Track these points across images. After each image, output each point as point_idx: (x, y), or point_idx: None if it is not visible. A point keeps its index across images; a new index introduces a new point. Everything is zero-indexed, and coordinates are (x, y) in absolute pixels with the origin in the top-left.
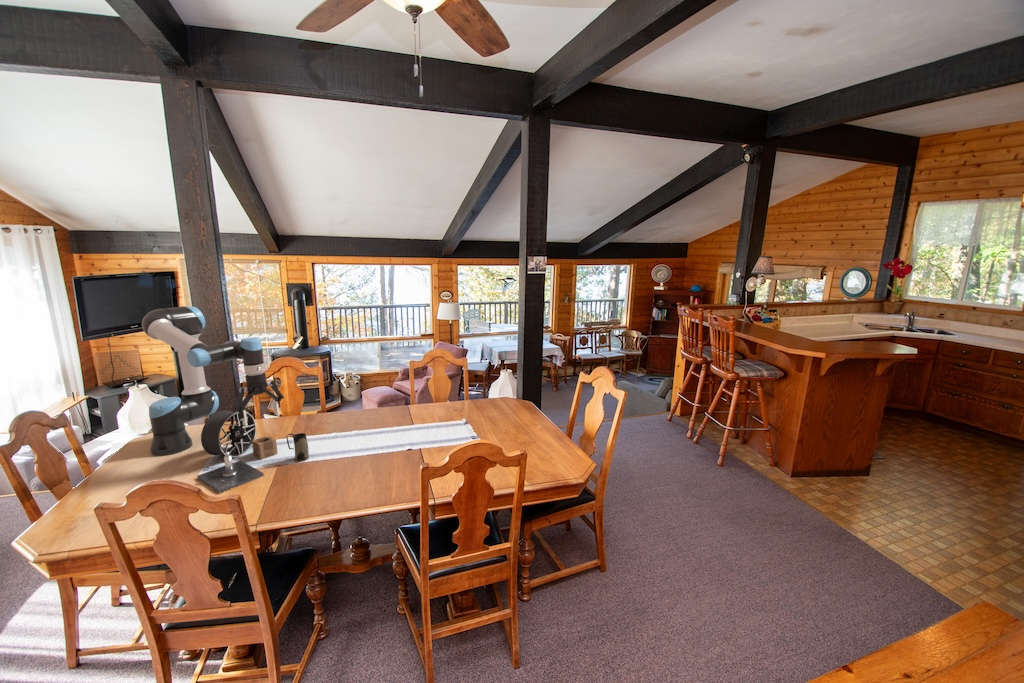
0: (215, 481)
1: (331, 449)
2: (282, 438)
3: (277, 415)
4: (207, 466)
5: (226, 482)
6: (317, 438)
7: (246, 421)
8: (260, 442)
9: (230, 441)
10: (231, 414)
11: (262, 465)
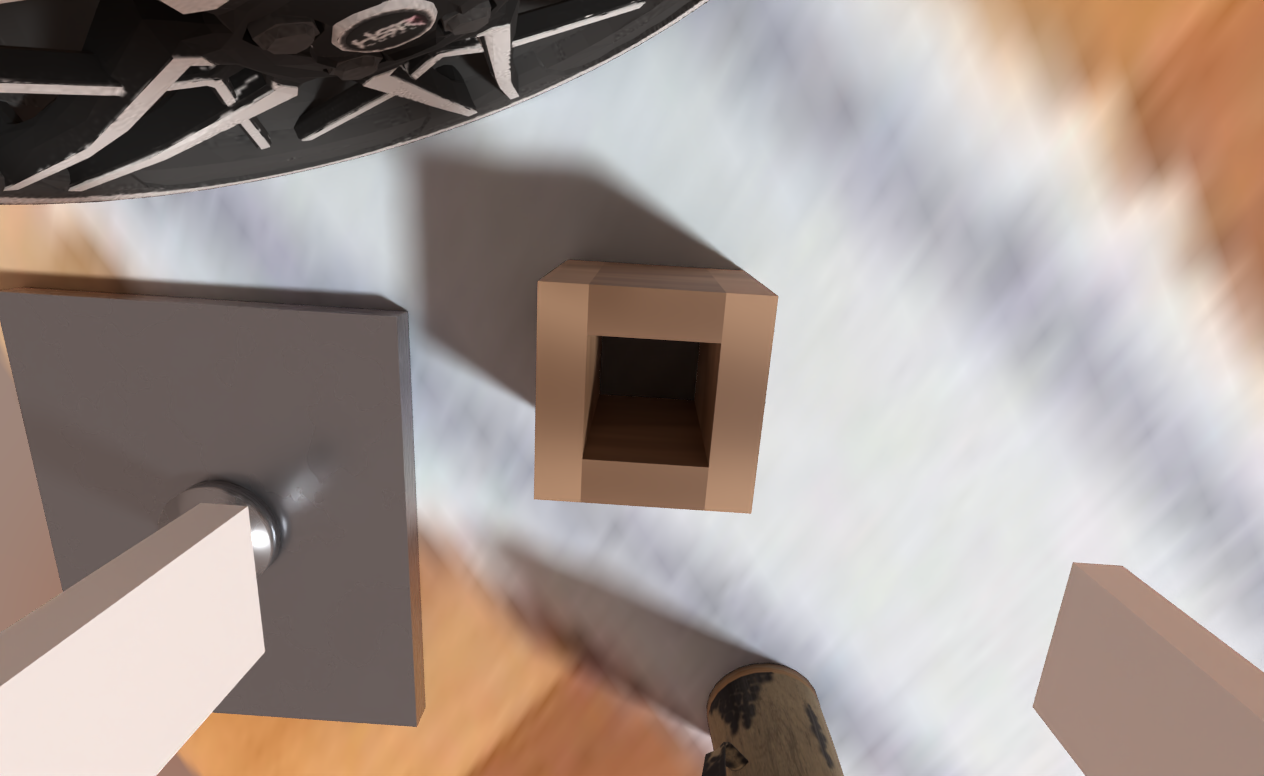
0: (101, 544)
1: (1013, 765)
2: (1043, 70)
3: (1043, 689)
4: None
5: None
6: (1185, 459)
7: (172, 736)
8: (580, 440)
9: (272, 100)
10: None
11: (507, 541)
